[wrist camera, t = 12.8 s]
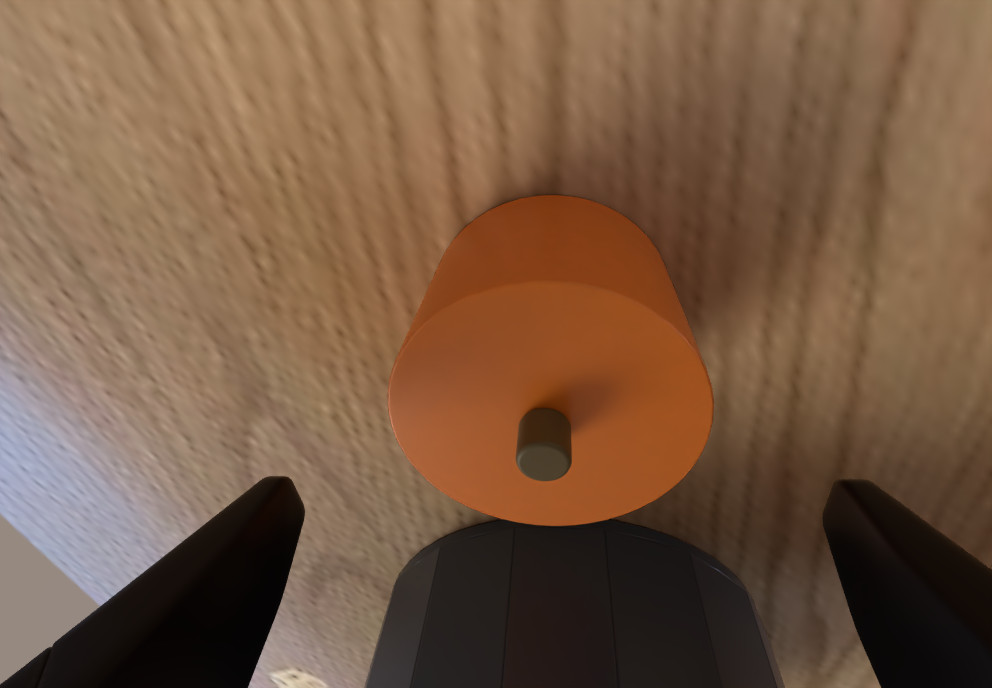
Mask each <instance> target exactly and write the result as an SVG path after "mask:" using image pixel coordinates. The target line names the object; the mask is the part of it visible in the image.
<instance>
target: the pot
mask: <svg viewBox="0 0 992 688" xmlns="http://www.w3.org/2000/svg"><path fill="white" fill-rule="evenodd" d="M364 688H785V687H784V683H783V680H782V677H781V674H780V671H779V668H778V665H777V662H776V659H775V656H774V653H773V650H772V647H771V644H770V641H769V638H768V635H767V632H766V630H765V628H764V626H763V624H762V622H761V620H760V618H759V615H758V613H757V610H756V607H755V604H754V601H753V599H752V597H751V596H750V594H749V592H748V591H747V589H746V588H745V586H744V585H743V584H742V583H741V581H740V580H739V579H738V578H737V577H736V576H735V575H734V574H733V573H732V572H731V571H730V570H729V569H728V568H726V567H725V566H724V565H722V564H721V563H720V562H719V561H717V560H716V559H715V558H713V557H711V556H710V555H708V554H706V553H705V552H703V551H701V550H700V549H698V548H696V547H694V546H692V545H690V544H688V543H685V542H683V541H681V540H679V539H676V538H674V537H672V536H669V535H666V534H663V533H660V532H657V531H654V530H651V529H648V528H645V527H640V526H636V525H631V524H627V523H623V522H618V521H612V520H604V521H599V522H594V523H588V524H579V525H568V526H546V525H533V524H525V523H518V522H513V521H509V520H504V519H503V520H499V521H494V522H489V523H484V524H480V525H476V526H473V527H470V528H467V529H464V530H461V531H458V532H455V533H453V534H451V535H449V536H446V537H444V538H442V539H440V540H438V541H436V542H434V543H433V544H431V545H430V546H428V547H426V548H425V549H423V550H422V551H421V552H419V553H418V554H417V555H416V556H415V557H414V558H413V559H412V560H410V561H409V562H408V564H407V565H406V566H405V568H404V569H403V570H402V571H401V573H400V574H399V576H398V578H397V580H396V582H395V585H394V587H393V591H392V594H391V598H390V601H389V604H388V607H387V610H386V614H385V617H384V620H383V624H382V627H381V631H380V635H379V638H378V642H377V645H376V649H375V652H374V656H373V659H372V663H371V666H370V670H369V673H368V677H367V680H366V684H365V687H364Z"/></svg>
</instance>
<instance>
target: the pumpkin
mask: <svg viewBox="0 0 992 688" xmlns="http://www.w3.org/2000/svg"><path fill="white" fill-rule="evenodd" d="M388 411H389V416H390V420H391V425H392V428H393V431H394V434H395V436H396V439H397V441H398V443H399V445H400V447H401V448H402V450H403V452H404V454H405V455H406V457H407V458H408V459H409V461H410V462H411V463H412V464H413V466H414V467H415V468H416V469H417V470H418V471H419V472H420V473H421V474H422V475H423V476H424V477H425V478H426V480H428V481H429V482H430V483H431V484H433V485H434V486H435V487H436V488H438V489H439V490H440V491H442V492H443V493H445V494H446V495H448V496H449V497H451V498H452V499H454V500H456V501H458V502H460V503H462V504H464V505H466V506H467V507H470V508H472V509H475V510H477V511H479V512H482V513H484V514H487V515H491V516H494V517H497V518H500V519H504V520H509V521H513V522H518V523H525V524H533V525H546V526H568V525H579V524H588V523H594V522H599V521H604V520H608V519H611V518H615V517H618V516H621V515H624V514H627V513H629V512H632V511H634V510H637V509H639V508H641V507H643V506H645V505H647V504H649V503H651V502H653V501H654V500H656V499H658V498H659V497H661V496H662V495H663V494H665V493H666V492H668V491H669V490H671V489H672V488H673V487H674V486H675V485H676V484H677V483H678V482H680V481H681V480H682V479H683V478H684V477H685V475H686V474H687V473H688V472H689V471H690V470H691V469H692V467H693V466H694V465H695V463H696V462H697V460H698V458H699V457H700V455H701V454H702V452H703V450H704V447H705V445H706V443H707V441H708V438H709V435H710V431H711V427H712V422H713V413H714V399H713V390H712V385H711V382H710V378H709V375H708V372H707V369H706V366H705V364H704V361H703V359H702V356H701V354H700V351H699V349H698V346H697V344H696V342H695V339H694V337H693V334H692V332H691V329H690V327H689V324H688V322H687V319H686V317H685V314H684V312H683V309H682V307H681V304H680V302H679V299H678V297H677V294H676V292H675V289H674V287H673V284H672V282H671V279H670V277H669V274H668V272H667V269H666V267H665V264H664V262H663V260H662V258H661V256H660V254H659V252H658V250H657V249H656V248H655V246H654V245H653V243H652V242H651V241H650V239H649V238H648V237H647V236H646V235H645V234H644V233H643V232H642V231H641V230H640V228H639V227H638V226H636V225H635V224H634V223H633V222H631V221H630V220H629V219H627V218H626V217H625V216H623V215H621V214H620V213H618V212H616V211H614V210H612V209H611V208H609V207H606V206H604V205H601V204H599V203H596V202H594V201H590V200H586V199H582V198H578V197H571V196H562V195H540V196H533V197H527V198H521V199H518V200H514V201H511V202H507V203H505V204H502V205H500V206H498V207H496V208H493V209H491V210H489V211H488V212H486V213H484V214H483V215H481V216H479V217H478V218H476V219H475V220H474V221H473V222H471V223H470V224H469V225H468V226H466V227H465V228H464V229H463V230H462V231H461V232H460V233H459V234H458V236H457V237H456V238H455V239H454V240H453V241H452V243H451V244H450V246H449V247H448V249H447V250H446V252H445V254H444V256H443V258H442V260H441V262H440V264H439V266H438V268H437V270H436V272H435V275H434V277H433V279H432V281H431V283H430V286H429V288H428V290H427V292H426V294H425V297H424V299H423V301H422V303H421V305H420V308H419V310H418V312H417V314H416V316H415V319H414V321H413V323H412V325H411V327H410V330H409V332H408V334H407V336H406V338H405V341H404V343H403V345H402V347H401V349H400V352H399V354H398V356H397V358H396V360H395V363H394V365H393V369H392V372H391V376H390V379H389V387H388Z"/></svg>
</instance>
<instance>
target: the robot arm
mask: <svg viewBox="0 0 992 688" xmlns="http://www.w3.org/2000/svg"><path fill="white" fill-rule="evenodd" d="M304 517H305V509H304V504H303V502H302V500H301V498H300V496H299V494H298V492H297V490H296V488H295V486H294V483H293V481H292V480H291V479H290V478H289V477H286V476H269V477H265V478H263V479H262V480H260V481H259V482H258V483H257V484H255V485H254V486H253V487H252V488H250V489H249V490H248V491H246V492H245V493H244V494H243V495H241V496H240V497H239V498H238V499H236V500H235V501H234V502H232V503H231V504H230V505H229V506H227V507H226V508H225V509H224V510H222V511H221V512H220V513H218V514H217V515H216V516H215V517H213V518H212V519H211V520H210V521H208V522H207V523H206V524H205V525H203V526H202V527H201V528H199V529H198V530H197V531H196V532H194V533H193V534H192V535H191V536H189V537H188V538H187V539H185V540H184V541H183V542H182V543H180V544H179V545H178V546H177V547H175V548H174V549H173V550H171V551H170V552H169V553H168V554H166V555H165V556H164V557H163V558H161V559H160V560H159V561H158V562H156V563H155V564H154V565H152V566H151V567H150V568H149V569H147V570H146V571H145V572H144V573H142V574H141V575H140V576H138V577H137V578H136V579H135V580H133V581H132V582H131V583H130V584H128V585H127V586H126V587H124V588H123V589H122V590H121V591H119V592H118V593H117V594H116V595H114V596H113V597H112V598H111V599H109V600H108V601H107V602H105V603H104V604H103V605H102V606H100V607H99V608H98V609H97V610H96V611H94V612H93V613H91V614H90V615H89V616H88V617H87V618H85V619H84V620H83V621H81V622H80V623H79V624H77V625H76V626H75V627H74V628H72V629H71V630H70V631H69V632H67V633H66V634H65V635H63V636H62V637H61V638H60V639H58V640H57V641H56V642H55V643H54V644H53V646H52V647H49V648H47V649H45V650H44V651H43V652H42V653H40V654H39V655H38V656H37V657H35V658H34V659H33V660H31V661H30V662H29V663H28V664H26V665H25V666H24V667H23V668H21V669H20V670H19V671H17V672H16V673H15V674H14V675H12V676H11V677H10V678H8V679H7V680H6V681H4V682H3V683H2V684H0V688H248V686H249V683H250V681H251V678H252V675H253V673H254V670H255V668H256V665H257V663H258V660H259V657H260V655H261V652H262V650H263V647H264V645H265V642H266V639H267V637H268V634H269V632H270V629H271V627H272V624H273V621H274V619H275V616H276V614H277V611H278V608H279V605H280V603H281V599H282V596H283V593H284V590H285V586H286V583H287V579H288V575H289V572H290V568H291V565H292V561H293V558H294V554H295V550H296V547H297V543H298V540H299V536H300V533H301V529H302V525H303V522H304ZM822 520H823V527H824V531H825V534H826V537H827V540H828V543H829V546H830V550H831V553H832V556H833V559H834V562H835V565H836V569H837V572H838V575H839V578H840V581H841V584H842V588H843V591H844V594H845V597H846V600H847V603H848V607H849V610H850V613H851V616H852V619H853V621H854V624H855V627H856V630H857V632H858V635H859V637H860V640H861V642H862V644H863V647H864V649H865V651H866V654H867V656H868V658H869V660H870V663H871V665H872V667H873V670H874V672H875V674H876V676H877V679H878V681H879V683H880V686H881V688H992V570H991V569H989V568H988V567H987V566H985V565H984V564H983V563H981V562H980V561H979V560H977V559H976V558H975V557H973V556H972V555H971V554H969V553H968V552H966V551H965V550H964V549H962V548H961V547H960V546H958V545H957V544H956V543H954V542H953V541H952V540H950V539H949V538H947V537H946V536H945V535H943V534H942V533H941V532H939V531H938V530H937V529H935V528H934V527H933V526H931V525H930V524H928V523H927V522H926V521H924V520H923V519H922V518H920V517H919V516H918V515H916V514H915V513H914V512H912V511H911V510H909V509H908V508H907V507H905V506H904V505H903V504H901V503H900V502H899V501H897V500H896V499H895V498H893V497H892V496H890V495H889V494H888V493H886V492H885V491H884V490H882V489H881V488H880V487H878V486H877V485H876V484H874V483H873V482H871V481H869V480H866V479H838V480H837V481H836V482H835V483H834V485H833V487H832V490H831V492H830V495H829V498H828V500H827V503H826V506H825V508H824V511H823V517H822Z"/></svg>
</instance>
